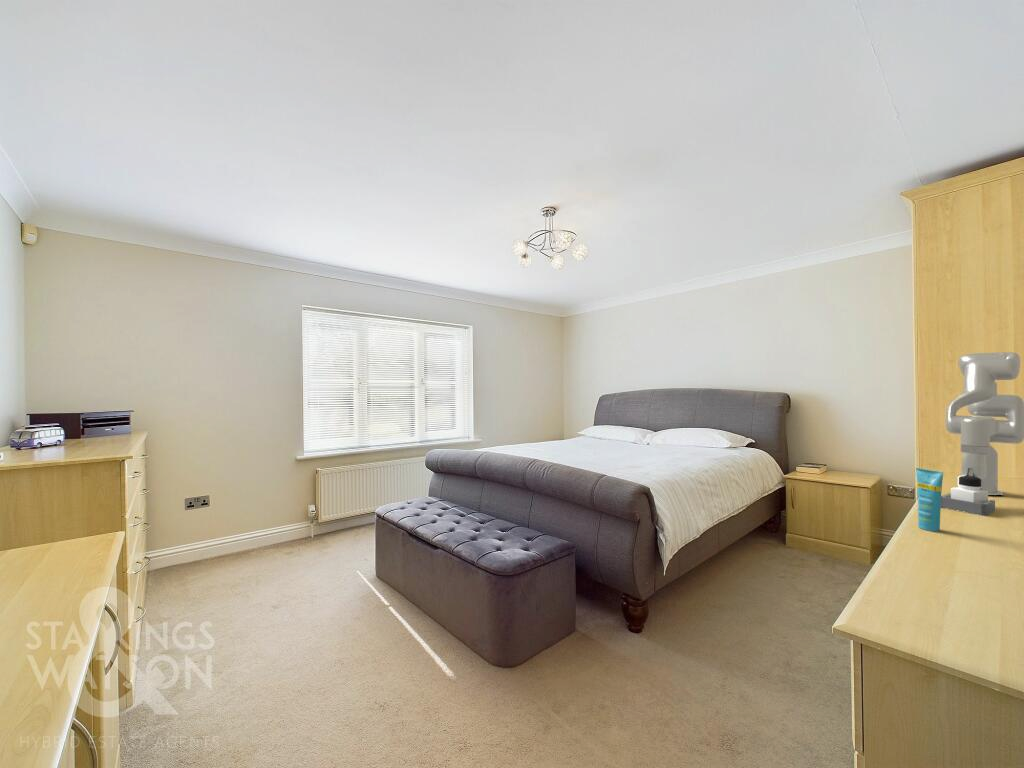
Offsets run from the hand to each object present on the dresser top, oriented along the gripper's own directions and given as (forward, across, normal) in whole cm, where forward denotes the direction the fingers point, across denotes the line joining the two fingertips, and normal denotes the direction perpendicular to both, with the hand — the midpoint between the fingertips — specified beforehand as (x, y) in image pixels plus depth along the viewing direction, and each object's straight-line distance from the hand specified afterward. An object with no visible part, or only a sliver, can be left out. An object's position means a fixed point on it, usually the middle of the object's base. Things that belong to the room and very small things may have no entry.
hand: (974, 497), depth 162 cm
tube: (+3, +51, +1) cm, 51 cm away
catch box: (+3, +9, 0) cm, 10 cm away
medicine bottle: (+3, +6, 0) cm, 7 cm away
